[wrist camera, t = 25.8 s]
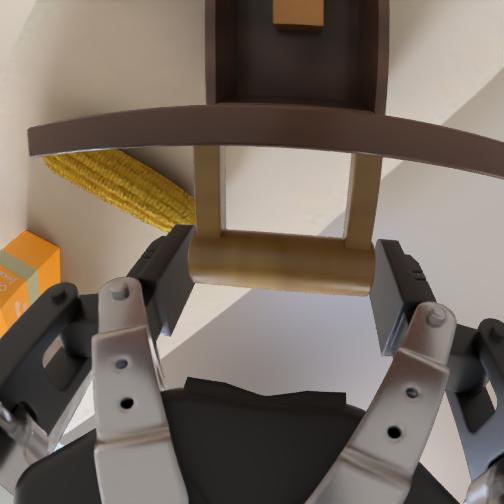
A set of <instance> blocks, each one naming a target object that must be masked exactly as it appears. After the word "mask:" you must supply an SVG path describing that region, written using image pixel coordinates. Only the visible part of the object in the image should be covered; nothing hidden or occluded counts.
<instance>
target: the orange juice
mask: <svg viewBox="0 0 504 504" xmlns="http://www.w3.org/2000/svg"><path fill="white" fill-rule="evenodd" d="M58 283H61V278H60V248H59V247H57V246H56V245H54V244H52V243H50V242H48V241H46V240H44V239H42V238H40V237H38V236H36V235H34V234H33V233H31V232H29V231H27V230H25V231H24V232H23V233H22V234H20V235H19V236H18V237H17V238H15V239H14V240H13V241H12V242H11V243H9V244H8V245H7V246H6V247H5V248H4V249H2V250H1V251H0V339H1V337H2V336H3V335H4V334H5V333H6V332H7V331H8V330H9V328H10V327H11V326H12V325H13V324H14V323H15V322H16V321H17V320H18V319H19V317H20V316H21V315H22V314H23V313H24V312H25V311H26V310H27V309H28V308H29V307H30V306H31V305H32V304H33V303H34V302H35V301H36V300H37V299H38V298H39V297H40V296H41V295H42V294H43V293H44V291H46V290H47V289H48V288H49V287H51V286H53V285H55V284H58Z"/></svg>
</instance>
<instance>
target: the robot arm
mask: <svg viewBox="0 0 504 504" xmlns="http://www.w3.org/2000/svg"><path fill="white" fill-rule="evenodd" d="M195 230H196V226H195V225H184V224H176V225H174V227H173V228H172V229H171V231H170V232H169V233H168V235H167V236H161V237H160V238H158V239H156V240H155V241H153V242H152V243H151V244H150V245H149V247H148V248H147V249H146V252H144V253H143V255H142V256H141V258H139V260H138V261H137V262H136V264H135V265H134V266H133V268H132V269H131V270H130V272H129V273H128V274H127V276H126V277H119V278H115V279H113V280H110V281H109V282H107V283H106V284H104V285H103V286H102V287H101V289H100V291H99V294H89V295H79V293H78V290H77V287H76V286H75V285H74V284H72V283H68V282H63V283H58V284H55V285H53V286H51V287H49V288H48V289H47V290H46V291H44V293H43V294H42V295H41V296H40V297H39V298H38V299H37V300H36V301H35V302H34V303H33V304H32V305H31V306H30V307H29V308H28V309H27V310H26V311H25V312H24V313H23V314H22V315H21V316H20V317H19V319H18V320H17V321H16V322H15V323H14V324H13V325H12V326H11V327H10V328H9V330H8V331H7V332H6V333H5V334H4V335H3V336H2V337H1V339H0V485H1V486H3V487H4V488H5V489H6V490H7V491H8V492H10V493H11V494H12V495H13V496H14V499H13V502H14V504H460V503H459V502H458V501H457V500H456V499H455V498H454V497H453V496H452V495H451V494H450V493H449V492H448V491H447V490H446V489H445V488H444V487H443V486H442V485H441V484H440V483H439V482H438V481H437V480H436V479H435V478H434V477H433V476H432V474H431V473H430V472H429V471H428V470H427V469H426V468H425V467H424V466H423V465H422V464H421V463H420V462H419V460H420V457H421V455H422V453H423V450H424V448H425V445H426V443H427V440H428V438H429V435H430V432H431V430H432V427H433V424H434V422H435V419H436V416H437V413H438V410H439V407H440V404H441V401H442V398H443V395H444V391H445V392H446V394H447V398H448V401H449V404H450V406H451V410H452V413H453V416H454V419H455V422H456V426H457V429H458V432H459V435H460V439H461V443H462V446H463V450H464V453H465V457H466V461H467V465H468V469H469V473H470V477H471V484H470V486H469V488H468V491H467V496H466V499H465V500H464V502H463V504H504V323H503V322H501V321H499V320H496V319H491V318H490V319H489V318H488V319H484V320H483V321H482V322H481V323H480V325H479V327H478V329H473V328H470V327H466V326H463V325H460V324H457V320H456V317H455V315H454V314H453V312H452V311H451V310H450V309H448V308H447V307H445V306H444V305H442V304H439V303H437V302H436V299H435V297H434V295H433V293H432V290H431V288H430V286H429V284H428V282H427V281H426V278H425V275H424V274H423V271H422V269H421V267H420V265H419V263H418V262H417V261H416V260H415V259H413V257H412V256H410V255H405V254H404V252H403V250H402V248H401V246H400V244H399V242H398V241H396V240H385V239H378V240H377V242H376V246H375V256H376V267H375V276H374V282H373V286H372V289H371V291H370V293H369V296H370V300H371V305H372V309H373V314H374V319H375V324H376V329H377V334H378V339H379V344H380V350H381V355H382V356H393V362H392V364H391V366H390V368H389V370H388V372H387V374H386V376H385V378H384V380H383V382H382V384H381V385H380V387H379V389H378V391H377V393H376V395H375V397H374V399H373V401H372V402H371V404H370V406H369V408H368V409H367V411H364V410H362V409H360V408H357V407H355V406H352V405H348V404H346V393H342V392H318V391H303V392H296V393H289V394H281V395H272V396H262V395H259V394H256V393H253V392H250V391H247V390H244V389H241V388H238V387H235V386H233V385H230V384H227V383H223V382H217V381H210V380H204V379H198V378H192V377H187V380H186V383H185V386H184V388H174V389H169V390H168V388H167V384H166V380H165V376H164V372H163V368H162V364H161V360H160V355H159V351H158V347H157V343H156V340H157V338H158V336H159V335H164V336H170V337H171V335H172V332H173V330H174V328H175V326H176V324H177V321H178V319H179V317H180V315H181V313H182V310H183V308H184V306H185V304H186V302H187V300H188V297H189V295H190V293H191V291H192V289H193V287H194V284H195V282H193V281H192V280H191V278H190V276H189V271H188V250H189V244H190V240H191V237H192V235H193V233H194V231H195ZM57 337H58V339H59V341H60V343H61V345H62V346H61V347H60V348H59V350H58V351H57V352H56V353H55V355H54V356H53V357H52V359H51V360H50V361H49V363H48V364H47V365H46V366H45V368H44V367H43V356H44V353H45V352H46V350H47V349H48V348H49V347H50V345H51V344H52V343H53V342H54V340H55V339H56V338H57ZM91 369H92V378H93V397H94V410H95V420H96V428H95V429H93V430H92V431H90V432H88V433H87V434H85V435H83V436H81V437H80V438H78V439H76V440H74V441H73V442H71V443H69V444H67V445H66V446H64V447H62V448H60V449H58V450H56V451H55V452H53V453H51V454H50V452H49V450H48V446H49V440H48V436H49V435H50V433H51V431H52V430H53V428H54V426H55V425H56V423H57V422H58V420H59V418H60V417H61V415H62V414H63V412H64V411H65V409H66V407H67V406H68V404H69V403H70V401H71V400H72V398H73V397H74V395H75V393H76V392H77V390H78V389H79V387H80V386H81V384H82V383H83V381H84V380H85V378H86V377H87V375H88V374H89V372H90V371H91ZM489 380H490V382H491V385H492V387H493V389H494V392H495V394H496V397H497V401H498V402H497V408H496V411H495V409H494V406H493V404H492V401H491V399H490V396H489V394H488V392H487V389H486V387H485V386H486V384H487V383H488V382H489Z"/></svg>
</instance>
